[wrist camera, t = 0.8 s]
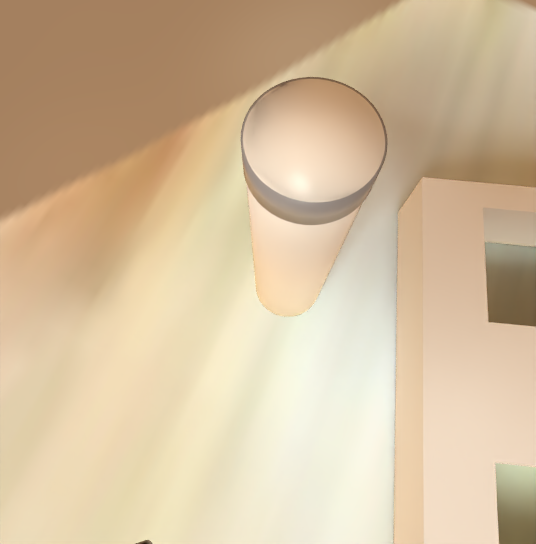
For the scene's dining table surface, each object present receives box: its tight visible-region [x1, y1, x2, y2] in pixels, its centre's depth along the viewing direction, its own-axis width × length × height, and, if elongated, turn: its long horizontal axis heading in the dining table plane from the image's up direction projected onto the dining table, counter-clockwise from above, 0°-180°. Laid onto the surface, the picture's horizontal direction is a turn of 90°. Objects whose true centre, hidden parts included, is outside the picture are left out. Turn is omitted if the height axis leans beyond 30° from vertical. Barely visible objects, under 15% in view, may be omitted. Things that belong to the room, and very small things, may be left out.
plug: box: [241, 77, 387, 317], centre depth 17 cm, size 4×4×14 cm
